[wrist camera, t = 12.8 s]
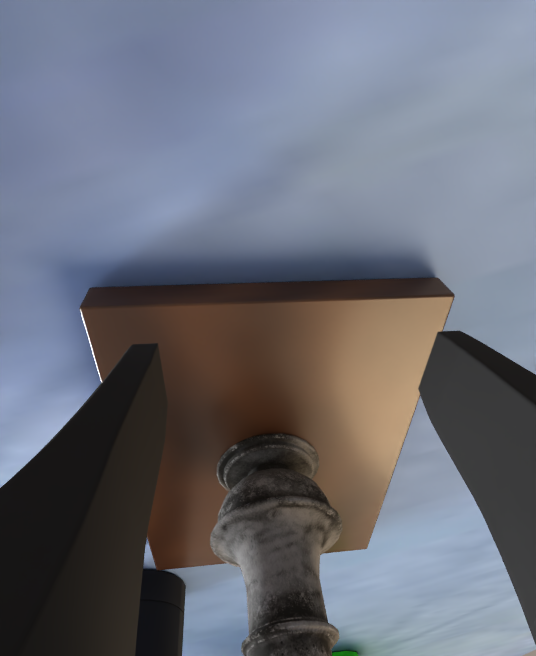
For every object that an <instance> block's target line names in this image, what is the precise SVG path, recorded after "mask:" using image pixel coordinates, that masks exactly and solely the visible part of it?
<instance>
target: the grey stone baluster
mask: <svg viewBox="0 0 536 656" xmlns="http://www.w3.org/2000/svg"><path fill="white" fill-rule="evenodd" d="M318 468H319V456H318V453H317V452H316V450H315V448H314V447H313V446H312V445H311V444H309V443H308V442H307V441H306V440H303V439H301V438H299V437H296V436H292V435H287V434H264V435H259V436H253V437H251V438H248V439H245V440H243V441H240V442H238V443H237V444H235V445H234V446H232V447H230V448H229V449H228V450H227V451H226V452H225V453H224V454H223V455H222V456H221V458H220V460H219V462H218V464H217V477H218V480H219V483H220V484H221V485H222V486H223V487H224V488H225V489H226V490H227V491H229V492H228V494H227V495H226V497H225V499H224V501H223V504H222V506H221V509H220V511H219V514H218V522H217V524H216V525H215V527H214V529H213V530H212V532H211V538H210V546H211V548H212V550H213V552H214V554H215V555H217V556H218V557H219V558H220V559H221V560H222V561H224V562H226V563H229V564H231V565H233V566H237V567H241V571H242V574H243V577H244V581H245V585H246V590H247V607H248V624H249V636H248V637H247V638H246V639H245V640H244V641H243V643H242V647H241V651H242V653H243V654H244V656H332V652H331V649H332V648H333V646H334V645H335V644H336V643H337V641H338V639H339V632H338V630H337V629H336V628H335V627H334V626H333V625H331V624H329V623H328V620H327V615H326V610H325V605H324V600H323V595H322V590H321V585H320V579H319V564H320V555H321V554H323V553H324V552H325V551H327V550H328V549H330V548H331V547H332V546H333V545H334V544H335V542H336V541H337V540H338V539H339V536H340V534H341V532H342V519H341V517H340V515H339V514H338V512H337V511H336V510H335V509H334V508H332V507H331V506H330V502H329V500H328V499H327V497H326V496H325V494H324V493H323V491H322V490H321V489H320V487H319V486H318V485H317V483H316V482H314V481H313V480H312V479H313V477H314V476H315V475H316V473H317V471H318Z"/></svg>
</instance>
